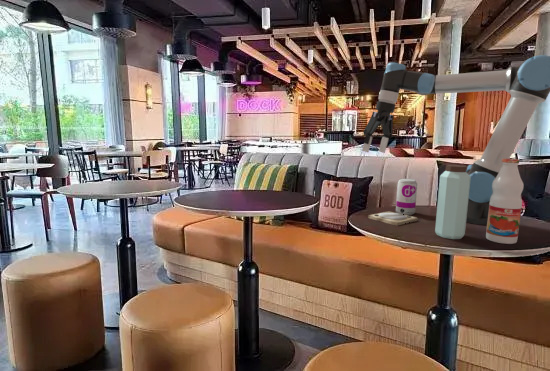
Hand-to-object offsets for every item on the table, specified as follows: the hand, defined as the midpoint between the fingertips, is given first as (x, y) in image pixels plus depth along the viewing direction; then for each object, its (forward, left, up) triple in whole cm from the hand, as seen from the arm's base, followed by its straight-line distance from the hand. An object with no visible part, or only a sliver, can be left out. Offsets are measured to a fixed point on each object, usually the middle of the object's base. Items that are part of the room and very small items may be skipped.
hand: (373, 151), depth 162 cm
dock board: (-12, 0, -27) cm, 30 cm away
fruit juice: (-51, -7, -27) cm, 58 cm away
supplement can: (-8, -15, -27) cm, 32 cm away
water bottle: (-38, +3, -27) cm, 47 cm away
